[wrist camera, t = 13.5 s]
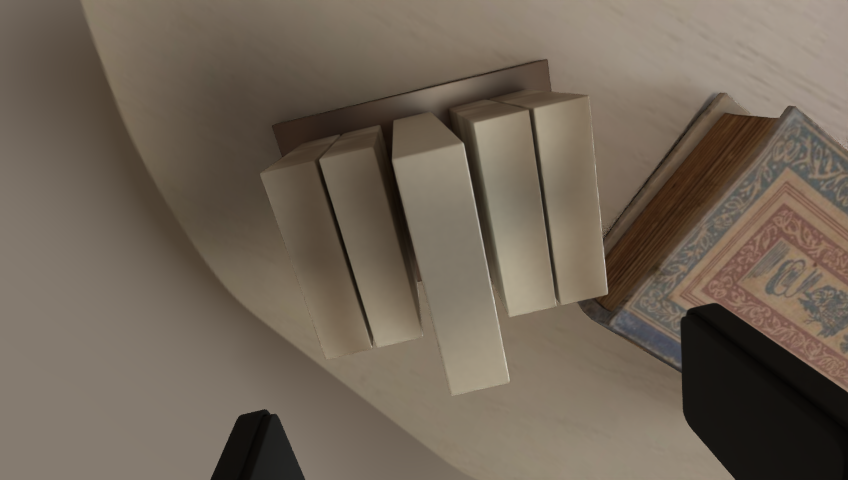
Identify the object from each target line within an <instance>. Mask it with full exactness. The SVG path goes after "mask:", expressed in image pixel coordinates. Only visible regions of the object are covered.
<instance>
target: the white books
mask: <svg viewBox="0 0 848 480" xmlns="http://www.w3.org/2000/svg"><path fill="white" fill-rule="evenodd" d="M427 112H431V113H432V114H433V115H434V116H435V117H437V118H438V119H439V120H440V121H441V122H442V123H443V124H444V125H445V126H446V127H447V128H448V129H449V130H450V131H451V132H452V133H453V134H454V135H455V136H457V137H458V138H459V139H460V140H461V141H462V142H463V143H464V147H465V152H466V157H467V162H468V167H469V172H470V178H471V183H472V188H473V193H474V198H475V203H476V208H477V214H478V219H479V224H480V229H481V234H482V239H483V245H484V250H485V255H486V260H487V265H488V270H489V276H490V278H491V280H492V282H493V284H494V286H495V289H496V291H497V293H498V295H499V297H500V299H501V301H502V303H503V305H504V307H505V310H506V312H507V314H508V316H509V317H513V316H517V315H522V314H526V313H530V312H535V311H539V310H543V309H548V308H552V307H556V299H557V300H558V302H559V303H560V305H564V304H569V303H573V302H577V301H582V300H586V299H591V298H595V297H599V296H604V295H607V294H608V289H607V278H606V268H605V258H604V247H603V237H602V226H601V216H600V206H599V195H598V185H597V174H596V164H595V154H594V143H593V133H592V122H591V112H590V102H589V95H582V94H571V93H559V92H551V84H550V76H549V68H548V60H547V59H545V60H540V61H535V62H531V63H527V64H523V65H519V66H515V67H511V68H506V69H502V70H498V71H494V72H490V73H486V74H481V75H477V76H473V77H469V78H465V79H461V80H457V81H452V82H448V83H444V84H440V85H436V86H432V87H428V88H423V89H419V90H415V91H411V92H407V93H403V94H398V95H394V96H390V97H386V98H382V99H378V100H374V101H369V102H365V103H361V104H357V105H353V106H349V107H345V108H340V109H336V110H332V111H328V112H324V113H320V114H315V115H311V116H307V117H303V118H299V119H295V120H291V121H286V122H282V123H278V124H275V125H272V128H273V131H274V134H275V137H276V140H277V143H278V146H279V149H280V152H281V154H282V157H283V158H281V159H280V160H278V161H277V162H276V163H274V164H273V165H271V166H270V167H268V168H267V169H266V170H264V171H263V172H261V173H260V176H261V179H262V182H263V184H264V187H265V190H266V193H267V196H268V198H269V201H270V204H271V207H272V210H273V212H274V215H275V218H276V221H277V224H278V226H279V229H280V232H281V235H282V238H283V241H284V243H285V246H286V249H287V252H288V255H289V257H290V260H291V263H292V266H293V269H294V271H295V274H296V277H297V280H298V283H299V285H300V288H301V291H302V294H303V297H304V300H305V302H306V305H307V308H308V311H309V314H310V316H311V319H312V322H313V325H314V328H315V330H316V333H317V336H318V339H319V342H320V344H321V347H322V350H323V353H324V356H325V359H331V358H335V357H339V356H344V355H348V354H352V353H357V352H361V351H365V350H370V349H372V347H373V338H374V341H375V344H376V347H382V346H386V345H391V344H395V343H400V342H404V341H408V340H413V339H417V338H421V337H423V329H422V319H421V310H420V301H419V292H418V283H417V282H420V281H422V279H421V275H420V271H419V267H418V263H417V259H416V255H415V251H414V247H413V243H412V239H411V235H410V231H409V227H408V223H407V219H406V215H405V211H404V207H403V203H402V199H401V195H400V191H399V187H398V183H397V179H396V175H395V171H394V167H393V163H392V148H393V122H394V120H397V119H401V118H406V117H410V116H414V115H418V114H422V113H427ZM555 298H556V299H555Z"/></svg>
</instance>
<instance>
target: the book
mask: <svg viewBox="0 0 848 480" xmlns="http://www.w3.org/2000/svg"><path fill="white" fill-rule="evenodd" d="M603 247H604V258H605V268H606V278H607V289H608V294H607V295H604V296H599V297H595V298H591V299H586V300H582V301H577V302H578V304H579V305H580V307H581V309H582V311H583V312H584V313H585V314H586V315H587V316H589V317H590V318H591V319H592V320H594V321H595V322H597V323H599V324H600V325H602V326H604V327H605V328H607V329H609V330H610V331H612V332H614V333H615V334H617V335H619V336H620V337H622V338H624V339H625V340H627V341H629V342H630V343H632V344H634V345H635V346H637V347H639V348H640V349H642V350H644V351H645V352H647V353H649V354H650V355H652V356H654V357H655V358H657V359H659V360H661V361H662V362H664V363H666V364H667V365H669V366H671V367H672V368H674V369H676V370H677V371H679V372H681V373H682V362H681V330H680V321H681V318H682V317H684V316H686V312H687V310H688V309H690V308H693V307H697V306H702V305H706V304H710V303H718V304H720V305H722V306H723V307H725V308H726V309H728V310H729V311H731V312H732V313H734V314H735V315H736V316H738V317H739V318H741V319H742V320H744V321H745V322H747V323H748V324H750V325H751V326H752V327H754V328H755V329H757V330H758V331H760V332H761V333H763V334H764V335H766V336H767V337H768V338H770V339H771V340H773V341H774V342H776V343H777V344H779V345H780V346H782V347H783V348H785V349H786V350H787V351H789V352H790V353H792V354H793V355H795V356H796V357H798V358H799V359H801V360H802V361H803V362H805V363H806V364H808V365H809V366H811V367H812V368H814V369H815V370H817V371H818V372H819V373H821V374H822V375H824V376H825V377H827V378H828V379H830V380H831V381H833V382H834V383H835V384H837V385H838V386H840V387H841V388H843V389H844V390H846V391H847V392H848V151H847V150H846V149H845V148H844V147H843V146H841V145H840V144H839V143H838V142H837V141H836V140H834V139H833V138H832V137H831V136H830V135H828V134H827V133H826V132H825V131H824V130H823V129H821V128H820V127H819V126H818V125H817V124H816V123H814V122H813V121H812V120H811V119H810V118H809V117H807V116H806V115H805V114H804V113H803V112H802V111H800V110H799V109H798V108H797V107H796V106H788V107H787V108H786V109H785V111H784V112H783V114H782V115H781V116H780V118H768V117H758V116H753V115H751V114H750V113H749V112H748V111H747V110H746V109H744V108H743V107H742V106H741V105H740V104H739V103H737V102H736V101H735V100H734V99H733V98H732V97H730V96H729V95H728V94H727V93H719V94H718V95H717V97H716V98H715V99H714V100H713V101H712V102H711V104H710V105H709V106H708V107H707V108H706V109H705V111H704V112H703V113H702V114H701V115H700V117H699V118H698V119H697V120H696V121H695V123H694V124H693V125H692V127H691V128H690V129H689V130H688V132H687V133H686V134H685V135H684V137H683V138H682V139H681V140H680V142H679V143H678V144H677V146H676V147H675V148H674V149H673V151H672V152H671V153H670V154H669V156H668V157H667V158H666V159H665V161H664V162H663V163H662V164H661V166H660V167H659V168H658V170H657V171H656V172H655V173H654V175H653V176H652V177H651V178H650V180H649V181H648V182H647V183H646V185H645V186H644V187H643V189H642V190H641V191H640V192H639V194H638V195H637V196H636V197H635V199H634V200H633V201H632V202H631V204H630V205H629V206H628V207H627V209H626V210H625V211H624V213H623V214H622V215H621V217H620V218H619V219H618V221H617V222H616V224H615V225H614V226H613V228H612V229H611V231H610V232H609V233H608V235H607V236H606V237H605V239H604V240H603Z"/></svg>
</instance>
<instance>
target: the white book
mask: <svg viewBox="0 0 848 480" xmlns="http://www.w3.org/2000/svg"><path fill="white" fill-rule="evenodd" d="M392 163H393V167H394V171H395V175H396V179H397V183H398V187H399V191H400V195H401V199H402V203H403V207H404V211H405V215H406V219H407V223H408V227H409V231H410V235H411V239H412V243H413V247H414V251H415V255H416V259H417V263H418V267H419V271H420V275H421V279H422V283H423V287H424V291H425V295H426V299H427V303H428V307H429V310H430V314H431V318H432V322H433V326H434V330H435V334H436V338H437V342H438V346H439V350H440V354H441V358H442V362H443V366H444V370H445V374H446V378H447V382H448V386H449V390H450V394H451V395H457V394H462V393H466V392H470V391H475V390H479V389H484V388H488V387H492V386H497V385H501V384H506V383H509V382H510V379H509V374H508V368H507V363H506V358H505V353H504V348H503V343H502V337H501V332H500V327H499V322H498V317H497V312H496V306H495V301H494V296H493V291H492V286H491V281H490V276H489V270H488V265H487V260H486V255H485V250H484V245H483V239H482V234H481V229H480V224H479V219H478V214H477V208H476V203H475V198H474V193H473V188H472V183H471V178H470V172H469V167H468V162H467V157H466V152H465V147H464V143H463V142H462V141H461V140H460V139H459V138H458V137H457V136H455V135H454V134H453V133H452V132H451V131H450V130H449V129H448V128H447V127H446V126H445V125H444V124H443V123H442V122H441V121H440V120H439V119H438V118H437V117H435V116H434V115H433V114H432V113H431V112H427V113H422V114H418V115H414V116H410V117H406V118H401V119H397V120H394V122H393V148H392Z"/></svg>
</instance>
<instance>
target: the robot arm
mask: <svg viewBox="0 0 848 480" xmlns="http://www.w3.org/2000/svg"><path fill="white" fill-rule="evenodd" d="M680 330H681V362H682V395H683V413H684V416H685V419H686V421H687V423H688V425H689V426H690V427H691V429H692V430H693V431H694V432H695V433H696V434H697V436H698V437H699V438H700V439H701V440H702V441H703V443H704V444H705V445H706V446H707V447H708V448H709V449H710V451H711V452H712V453H713V454H714V455H715V456H716V458H717V459H718V460H719V461H720V462H721V463H722V465H723V466H724V467H725V468H726V469H727V470H728V472H729V473H730V474H731V475H732V476H733V477H734V478H735V480H848V392H847V391H846V390H844V389H843V388H841V387H840V386H838V385H837V384H835V383H834V382H833V381H831V380H830V379H828V378H827V377H825V376H824V375H822V374H821V373H819V372H818V371H817V370H815V369H814V368H812V367H811V366H809V365H808V364H806V363H805V362H803V361H802V360H801V359H799V358H798V357H796V356H795V355H793V354H792V353H790V352H789V351H787V350H786V349H785V348H783V347H782V346H780V345H779V344H777V343H776V342H774V341H773V340H771V339H770V338H768V337H767V336H766V335H764V334H763V333H761V332H760V331H758V330H757V329H755V328H754V327H752V326H751V325H750V324H748V323H747V322H745V321H744V320H742V319H741V318H739V317H738V316H736V315H735V314H734V313H732V312H731V311H729V310H728V309H726V308H725V307H723V306H722V305H720V304H718V303H710V304H706V305H702V306H697V307H693V308H690V309H688V310H687V312H686V316H684V317H682V318H681V321H680ZM211 480H305V478H304V476H303V474H302V471H301V469H300V467H299V464H298V462H297V459H296V457H295V455H294V452H293V451H292V448H291V445H290V443H289V440H288V438H287V436H286V434H285V431H284V429H283V426H282V424H281V422H280V419H279V418H278V416H277V415H276V414H271V415H270V413H269V412H268V411H267V410H265V409H264V410H260V411H255V412H251V413H247V414H243V415H240V416H239V417H238V419H237V421H236V423H235V425H234V427H233V430H232V432H231V434H230V436H229V439H228V441H227V443H226V446H225V448H224V450H223V452H222V455H221V457H220V459H219V461H218V464H217V466H216V468H215V471H214V473H213V475H212V477H211Z"/></svg>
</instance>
